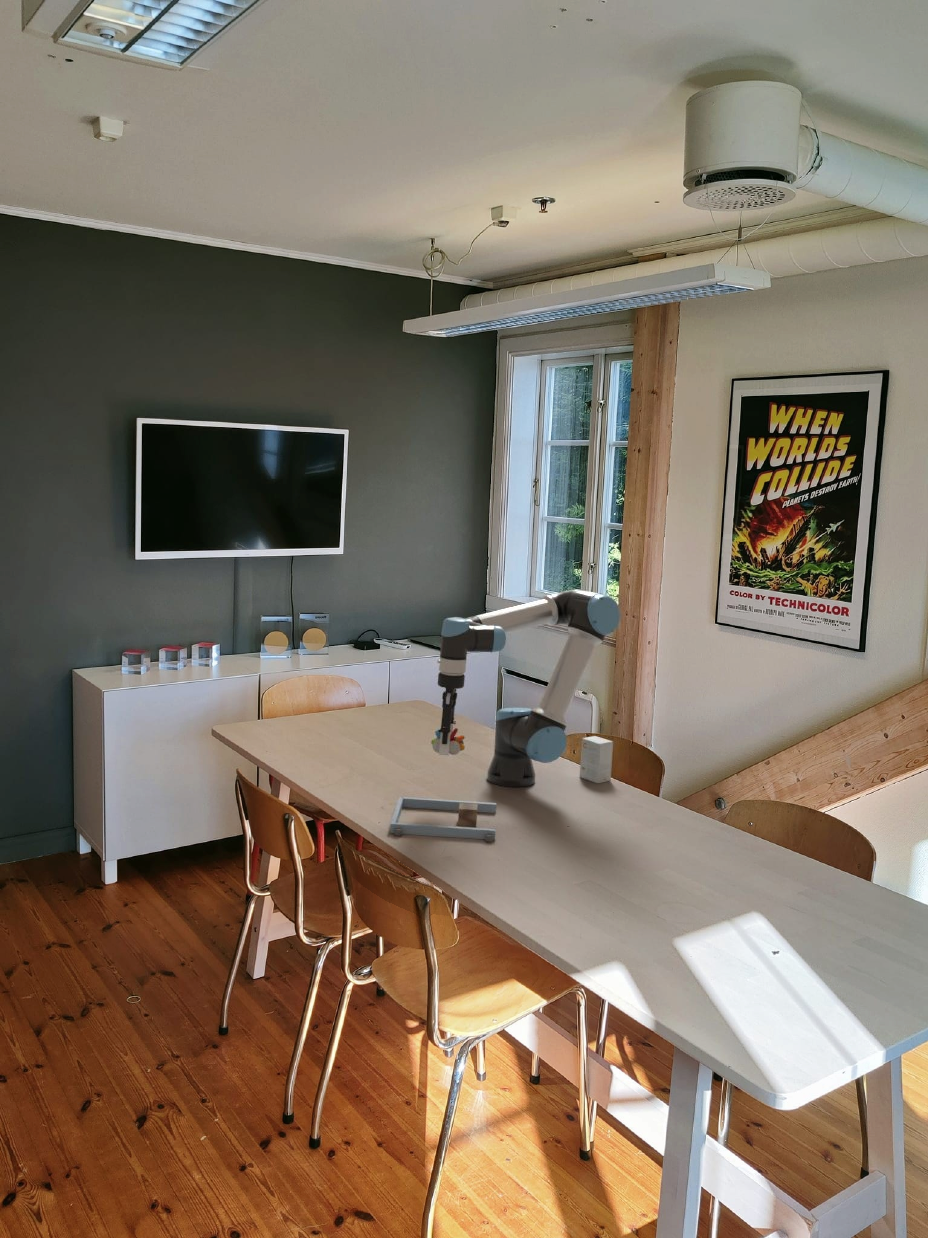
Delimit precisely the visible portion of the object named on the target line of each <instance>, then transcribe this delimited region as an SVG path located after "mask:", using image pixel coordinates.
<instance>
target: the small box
mask: <svg viewBox="0 0 928 1238" xmlns="http://www.w3.org/2000/svg"><path fill="white" fill-rule="evenodd" d="M581 740H582V741H581V752H580V762H579V763H580V764H579V765H580V766H579V778H582V779H584V780H587V781H590V782H593V783H595V784H601V783H606V782H608V781H611V778H612V765H613V764H612V762H613V749H614V741H613V740H610V739H605V738H603V737H599V736H596V735H592V736H588V737H582V739H581Z"/></svg>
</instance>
